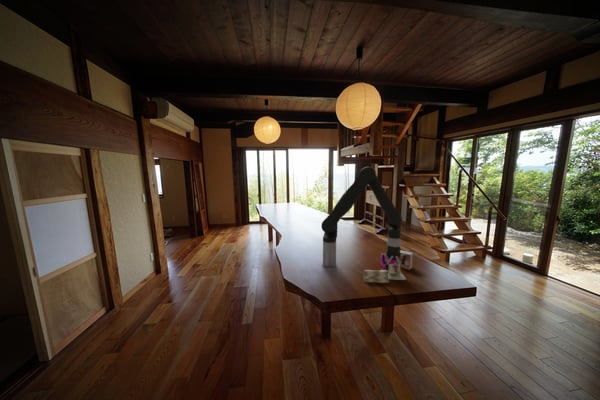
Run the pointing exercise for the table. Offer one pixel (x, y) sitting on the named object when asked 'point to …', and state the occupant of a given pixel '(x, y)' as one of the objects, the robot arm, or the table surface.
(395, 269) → the birch cube
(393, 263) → the toy block
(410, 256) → the small box
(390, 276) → the pad
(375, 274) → the screen
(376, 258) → the table surface
